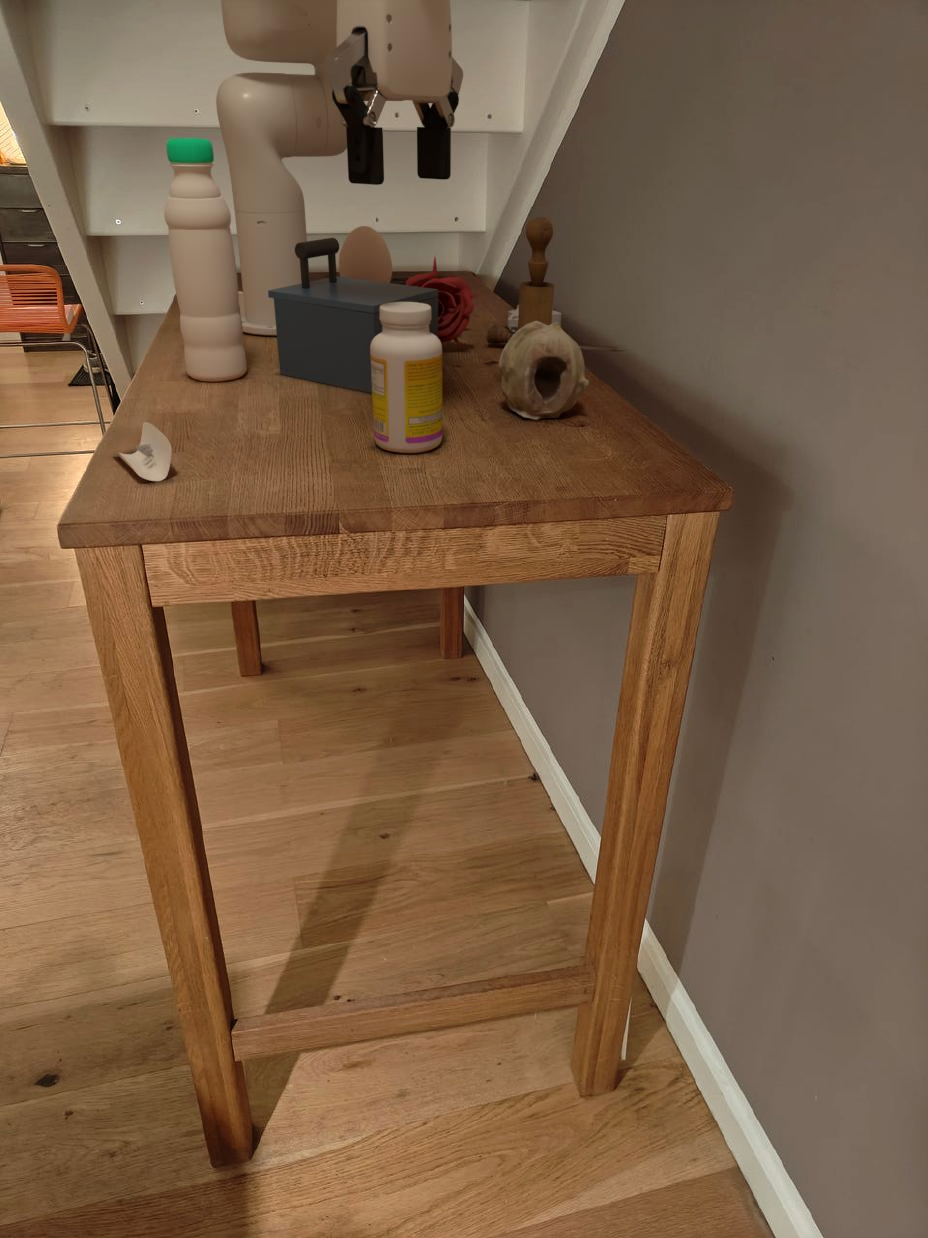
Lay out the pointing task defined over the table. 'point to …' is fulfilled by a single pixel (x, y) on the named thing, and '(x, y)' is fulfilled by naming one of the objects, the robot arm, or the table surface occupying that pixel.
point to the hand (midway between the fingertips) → (401, 180)
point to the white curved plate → (150, 454)
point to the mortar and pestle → (537, 277)
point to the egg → (365, 256)
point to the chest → (330, 342)
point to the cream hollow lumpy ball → (542, 371)
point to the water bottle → (203, 265)
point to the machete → (503, 335)
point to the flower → (448, 302)
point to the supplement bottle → (406, 379)
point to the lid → (344, 284)
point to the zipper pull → (513, 319)
